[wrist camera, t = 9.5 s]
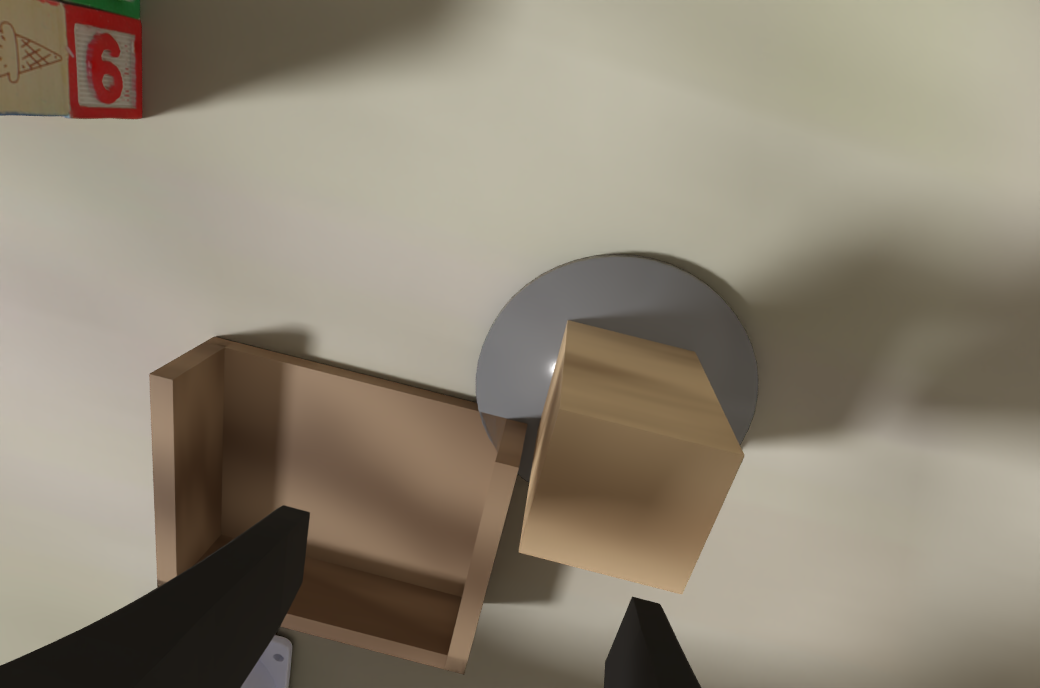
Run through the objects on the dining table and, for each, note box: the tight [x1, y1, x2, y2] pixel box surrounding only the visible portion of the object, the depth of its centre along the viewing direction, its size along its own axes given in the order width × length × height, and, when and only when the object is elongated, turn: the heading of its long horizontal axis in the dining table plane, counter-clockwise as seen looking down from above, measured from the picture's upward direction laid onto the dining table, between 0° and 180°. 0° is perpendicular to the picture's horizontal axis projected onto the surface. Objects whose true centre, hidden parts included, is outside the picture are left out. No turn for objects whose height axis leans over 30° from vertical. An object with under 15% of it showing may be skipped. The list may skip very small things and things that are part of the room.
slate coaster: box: [476, 254, 758, 482], centre depth 20 cm, size 10×10×1 cm
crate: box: [149, 337, 527, 674], centre depth 22 cm, size 10×13×4 cm
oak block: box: [519, 320, 744, 594], centre depth 17 cm, size 4×4×6 cm
